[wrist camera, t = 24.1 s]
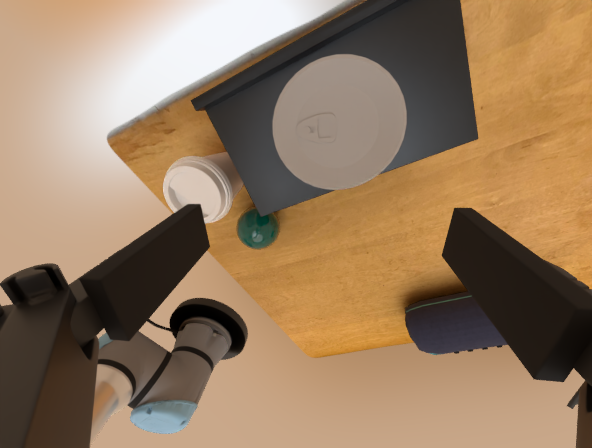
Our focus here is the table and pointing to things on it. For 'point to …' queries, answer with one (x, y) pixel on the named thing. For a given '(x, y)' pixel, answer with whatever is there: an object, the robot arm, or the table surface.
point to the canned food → (339, 121)
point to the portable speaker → (451, 325)
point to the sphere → (257, 229)
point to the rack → (366, 43)
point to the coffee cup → (203, 184)
